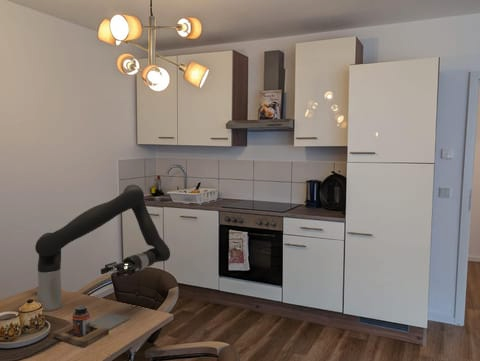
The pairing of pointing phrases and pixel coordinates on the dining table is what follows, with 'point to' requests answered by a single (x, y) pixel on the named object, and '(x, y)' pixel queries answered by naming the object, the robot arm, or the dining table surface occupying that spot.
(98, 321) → the charcoal mat
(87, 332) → the supplement bottle
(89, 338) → the walnut collar
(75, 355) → the dining table surface
